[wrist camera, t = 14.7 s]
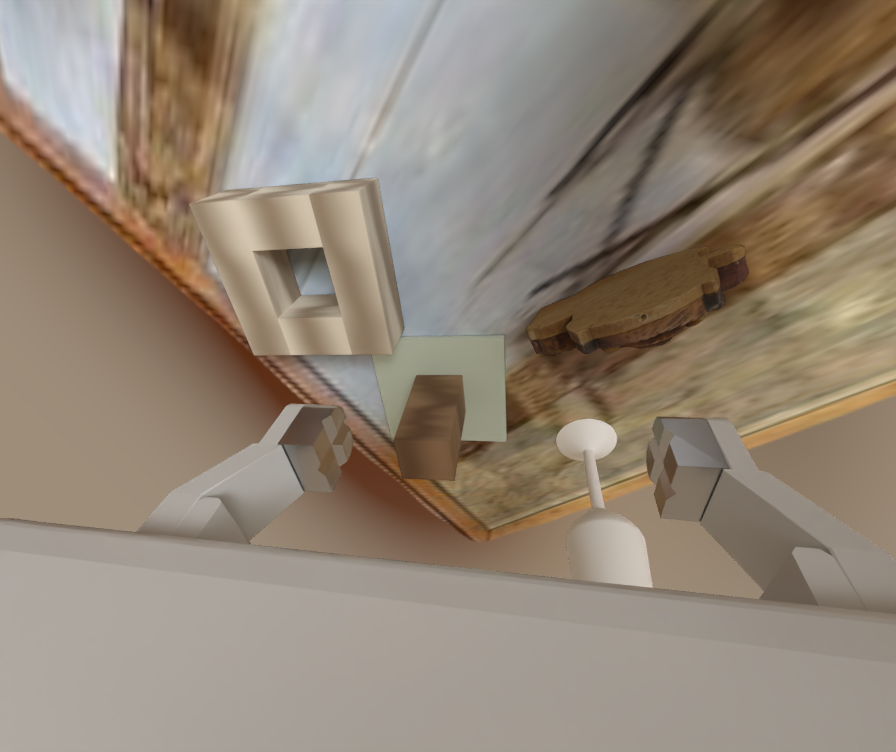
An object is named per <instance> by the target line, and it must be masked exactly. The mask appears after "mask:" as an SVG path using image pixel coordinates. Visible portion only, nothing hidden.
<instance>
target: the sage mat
mask: <svg viewBox="0 0 896 752" xmlns="http://www.w3.org/2000/svg"><path fill="white" fill-rule="evenodd" d="M371 356H372V360H373V364H374V368H375V372H376V377H377V381H378V385H379V389H380V393H381V397H382V402H383V406H384V410H385V414H386V418H387V422H388V427H389V431H390V435H391V438H394V437H395V434H396V431H397V429H398V426H399V423H400V420H401V417H402V414H403V412H404V409H405V406H406V403H407V400H408V397H409V395H410V392H411V389H412V386H413V383H414V380H415V377H416V375H462V376H463V387H464V397H465V408H466V413H465V419H464V425H463V431H462V437H461V440H466V441H500V442H506V440H507V437H506V393H505V349H504V335H480V336H410V337H400V339H399V341H398V343H397V345H396V347H395V350H394V352H393V354H377V355H371Z"/></svg>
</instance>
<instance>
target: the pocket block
mask: <svg viewBox="0 0 896 752" xmlns="http://www.w3.org/2000/svg"><path fill="white" fill-rule="evenodd" d="M189 205H190V208H191V210H192V212H193V215H194V217H195V219H196V222H197V224H198V226H199V229H200V231H201V233H202V236H203V238H204V240H205V242H206V245H207V247H208V249H209V252H210V254H211V256H212V259H213V261H214V263H215V266H216V268H217V270H218V273H219V275H220V277H221V280H222V282H223V284H224V287H225V289H226V291H227V293H228V296H229V298H230V300H231V303H232V305H233V307H234V310H235V312H236V314H237V317H238V319H239V321H240V324H241V326H242V328H243V331H244V333H245V335H246V338H247V340H248V342H249V345H250V347H251V349H252V351H253V354H254V355H377V354H393V352H394V350H395V347H396V345H397V343H398V341H399V339H400V337H401V335H402V332H403V330H404V322H403V316H402V311H401V305H400V299H399V294H398V288H397V283H396V277H395V271H394V266H393V260H392V255H391V249H390V243H389V238H388V232H387V226H386V221H385V215H384V210H383V204H382V198H381V193H380V187H379V182H378V178H368V179H356V180H344V181H332V182H320V183H308V184H296V185H284V186H272V187H260V188H248V189H236V190H225V191H223V192H220V193H217V194H215V195H212V196H209V197H207V198H204V199H201V200H199V201H196V202H194V203H191V204H189ZM317 247H323V249H324V253H325V257H326V260H327V264H328V268H329V272H330V275H331V279H332V283H333V286H334V290H335V294H328V295H301V294H300V291H299V288H298V284H297V281H296V278H295V275H294V272H293V269H292V266H291V263H290V260H289V257H288V254H287V250H286V249H298V248H317Z"/></svg>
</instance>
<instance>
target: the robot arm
mask: <svg viewBox="0 0 896 752" xmlns="http://www.w3.org/2000/svg"><path fill="white" fill-rule="evenodd" d="M345 418H346V415H345V413H344V410H343V408H342V407H340V406H329V405H312V404H307V405H305V404H290V405H288V406H286V407H285V408H284V410H283V411H282V413H281V414H280V415H279V417H278V418H277V419H276V421H275V422H274V423H273V425H272V426H271V428H270V429H269V430H268V432H267V433H266V434H265V436H264V437H263V439H262V440H261V441H260V443H259V444H252V445H250V446H249V447H247V448H245V449H243V450H242V451H240V452H238V453H237V454H235V455H233V456H231V457H230V458H228V459H226V460H225V461H223V462H221V463H219V464H218V465H216V466H214V467H213V468H211V469H209V470H208V471H206V472H204V473H202V474H201V475H199V476H197V477H196V478H194V479H192V480H190V481H189V482H187V483H185V484H184V485H182V486H180V487H178V488H177V489H175V490H173V491H172V492H170V493H169V494H168V495H167V497H166V498H165V499H164V500H163V501H162V503H161V504H160V505H159V506H158V507H157V509H155V511H154V512H153V513H152V514H151V515H150V517H149V518H148V519H147V520H146V521H145V522H144V524H143V525H142V526H141V527H140V528H139V529H138V531H137V532H131V531H120V530H112V529H103V528H94V527H83V526H74V525H65V524H56V523H47V522H37V521H30V520H22V519H14V518H0V752H896V563H895V562H894V560H893V559H892V558H891V556H890V555H889V553H887V552H886V551H884V550H882V549H881V548H879V547H878V546H876V545H875V544H874V543H872V542H871V541H869V540H868V539H866V538H865V537H863V536H862V535H860V534H859V533H857V532H856V531H854V530H853V529H851V528H850V527H848V526H847V525H845V524H844V523H842V522H841V521H839V520H838V519H837V518H835V517H834V516H832V515H830V514H829V513H828V512H826V511H825V510H823V509H822V508H820V507H819V506H817V505H816V504H814V503H813V502H811V501H810V500H808V499H806V498H805V497H804V496H802V495H801V494H799V493H798V492H796V491H795V490H793V489H792V488H790V487H789V486H787V485H786V484H784V483H783V482H781V481H780V480H778V479H777V478H775V477H774V476H772V475H771V474H769V473H768V472H766V471H759V470H758V469H757V467H756V465H755V463H754V461H753V460H752V458H751V456H750V454H749V452H748V451H747V449H746V447H745V445H744V443H743V442H742V440H741V438H740V436H739V434H738V433H737V431H736V429H735V427H734V426H733V424H732V422H731V421H730V420H729V419H728V418H690V417H656V419H655V421H654V424H653V428H652V430H653V433H654V436H655V438H653V439H652V440H651V441H649V443H648V448H647V458H646V463H647V471H648V475H649V479H650V480H651V481H652V482H653V483H654V484H656V489H655V492H654V497H655V500H656V504H657V507H658V511H659V514H660V518H666V519H676V520H686V521H695V522H701V523H700V524H701V525H702V526H703V527H704V528H705V529H706V531H707V532H708V533H709V534H710V535H711V536H712V537H713V538H714V539H715V540H716V541H717V542H718V543H719V544H720V545H721V546H722V547H723V548H724V550H725V551H726V552H727V553H728V554H729V555H730V556H731V557H732V558H733V559H734V560H735V561H736V562H737V563H738V564H739V565H740V566H741V567H742V568H743V569H744V571H745V572H746V573H747V574H748V575H749V576H750V577H751V578H752V579H753V580H754V581H755V582H756V583H757V584H758V585H759V586H760V587H761V589H762V590H763V591H764V593H763V594H762V596H761V597H760V598H759V599H751V598H742V597H733V596H724V595H715V594H705V593H696V592H687V591H677V590H668V589H658V588H650V587H641V586H631V585H622V584H613V583H603V582H594V581H584V580H575V579H565V578H556V577H546V576H537V575H528V574H519V573H509V572H500V571H491V570H482V569H472V568H462V567H454V566H445V565H435V564H426V563H417V562H408V561H399V560H390V559H380V558H371V557H362V556H353V555H343V554H334V553H324V552H315V551H306V550H297V549H288V548H279V547H269V546H260V545H251V543H250V542H249V541H250V540H251V539H252V538H253V537H254V536H255V535H257V534H258V533H259V532H260V531H261V530H262V529H263V528H265V527H266V526H267V525H268V524H269V523H270V522H271V521H273V520H274V519H275V518H276V517H277V516H278V515H279V514H281V513H282V512H283V511H284V510H285V509H286V508H287V507H288V506H290V505H291V504H292V503H293V502H294V501H295V500H296V499H298V498H299V497H300V496H301V495H302V494H303V493H304V491H309V492H330V493H332V492H333V490H334V488H335V486H336V484H337V482H338V480H339V478H340V476H341V474H342V473H341V470H340V466H341V465H343V464H344V463H345V462H347V461H348V459H349V457H350V454H351V451H352V445H353V440H352V433H351V430H350V428H349V427H348V426H346V425H345V424H344V423H343V422H344V420H345Z"/></svg>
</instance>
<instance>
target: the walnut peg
mask: <svg viewBox="0 0 896 752" xmlns="http://www.w3.org/2000/svg"><path fill="white" fill-rule="evenodd" d="M465 413H466V408H465V397H464V387H463V376H462V375H416V377H415V380H414V383H413V386H412V389H411V392H410V395H409V397H408V400H407V403H406V406H405V409H404V412H403V414H402V417H401V420H400V423H399V426H398V429H397V431H396V434H395V437H394V445H395V449H396V453H397V457H398V462H399V466H400V470H401V474H402V478H406V479H428V480H449V481H454V480H455V474H456V468H457V462H458V456H459V450H460V444H461V437H462V431H463V425H464V419H465Z"/></svg>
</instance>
